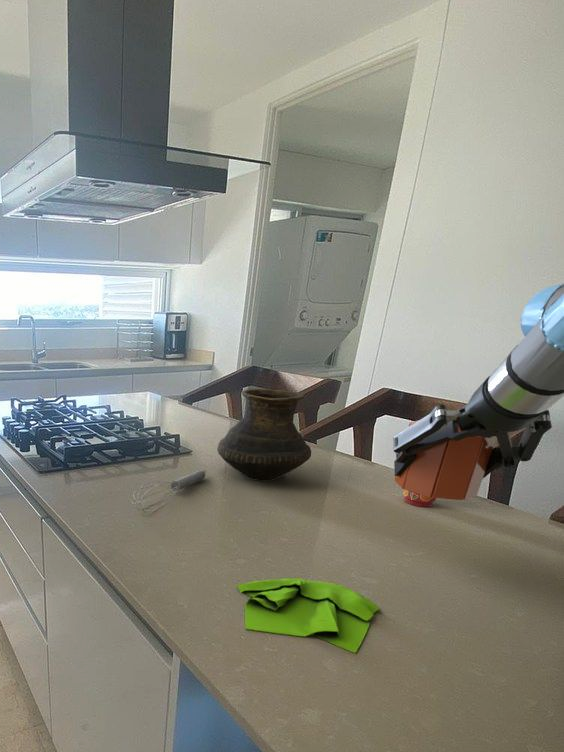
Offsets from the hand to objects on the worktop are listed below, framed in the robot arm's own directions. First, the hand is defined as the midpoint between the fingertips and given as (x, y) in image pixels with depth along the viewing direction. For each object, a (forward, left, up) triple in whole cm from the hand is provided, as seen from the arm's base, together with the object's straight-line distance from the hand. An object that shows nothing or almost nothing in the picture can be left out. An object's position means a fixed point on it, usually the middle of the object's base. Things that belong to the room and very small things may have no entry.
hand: (435, 471), depth 80 cm
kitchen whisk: (+52, -6, -19) cm, 56 cm away
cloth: (+12, +25, -19) cm, 33 cm away
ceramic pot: (+40, -34, -19) cm, 56 cm away
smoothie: (+2, -38, -19) cm, 43 cm away
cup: (+2, -4, +3) cm, 5 cm away
